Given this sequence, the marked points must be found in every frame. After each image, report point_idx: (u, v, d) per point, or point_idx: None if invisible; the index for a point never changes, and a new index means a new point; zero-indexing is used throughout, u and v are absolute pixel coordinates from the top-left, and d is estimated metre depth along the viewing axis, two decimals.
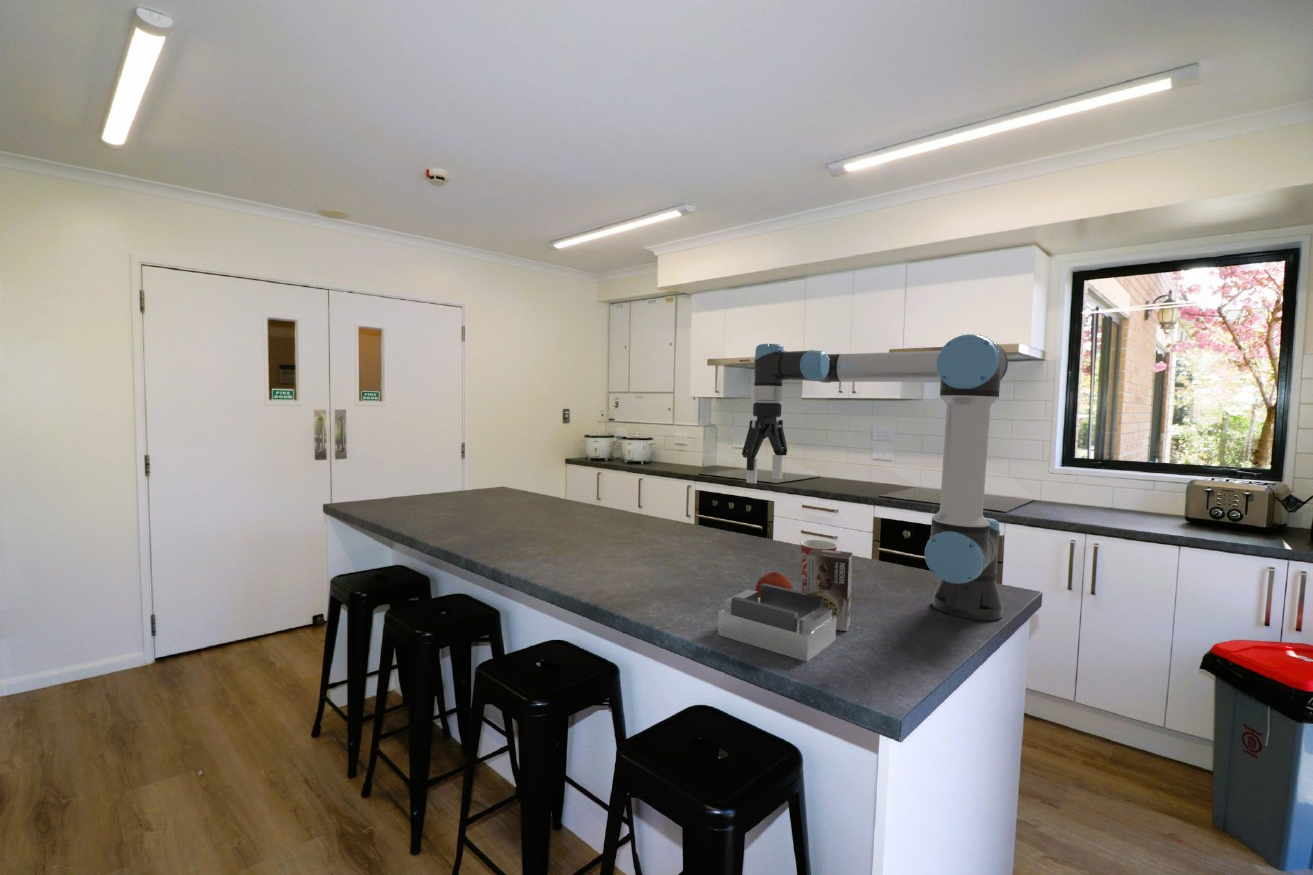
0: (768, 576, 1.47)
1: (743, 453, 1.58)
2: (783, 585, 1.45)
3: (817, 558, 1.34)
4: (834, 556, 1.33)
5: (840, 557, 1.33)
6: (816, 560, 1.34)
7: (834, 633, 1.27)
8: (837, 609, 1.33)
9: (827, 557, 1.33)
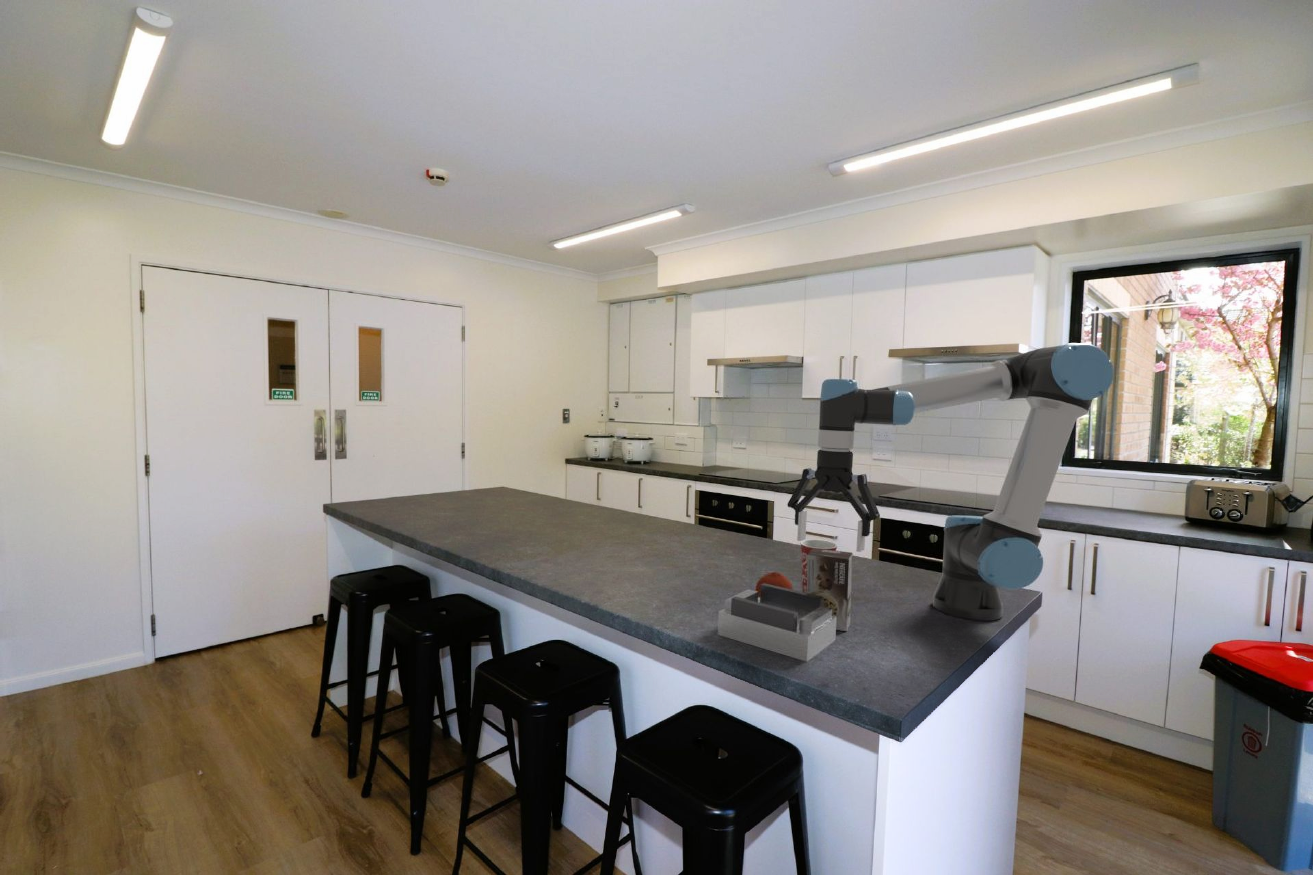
0: (768, 576, 1.47)
1: None
2: (783, 584, 1.45)
3: (817, 558, 1.34)
4: (834, 556, 1.33)
5: (840, 557, 1.33)
6: (816, 560, 1.34)
7: (834, 633, 1.27)
8: (837, 609, 1.33)
9: (827, 557, 1.33)
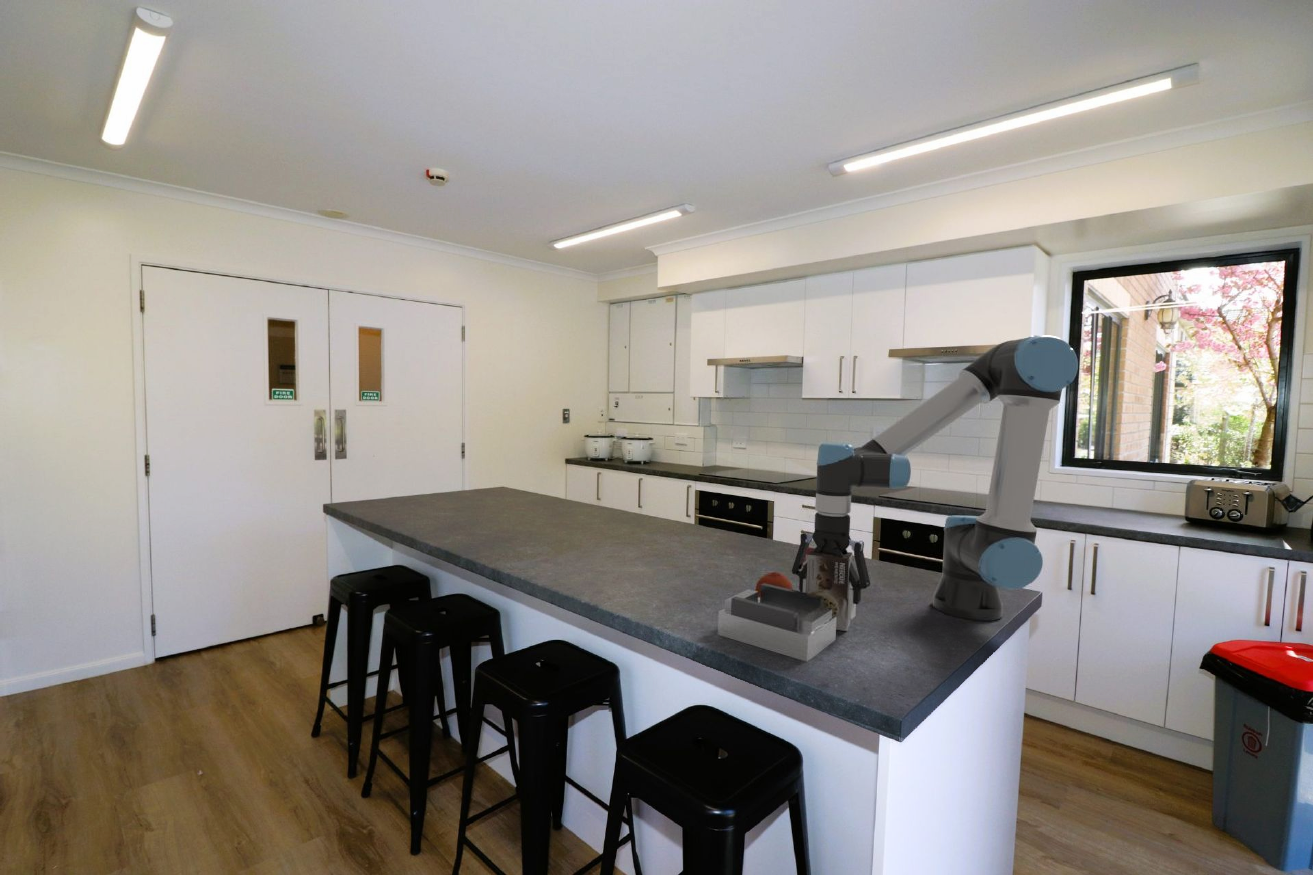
0: (768, 576, 1.47)
1: None
2: (783, 585, 1.45)
3: (817, 558, 1.34)
4: (834, 556, 1.33)
5: (840, 557, 1.33)
6: (816, 559, 1.34)
7: (834, 633, 1.27)
8: (837, 609, 1.33)
9: (827, 557, 1.33)
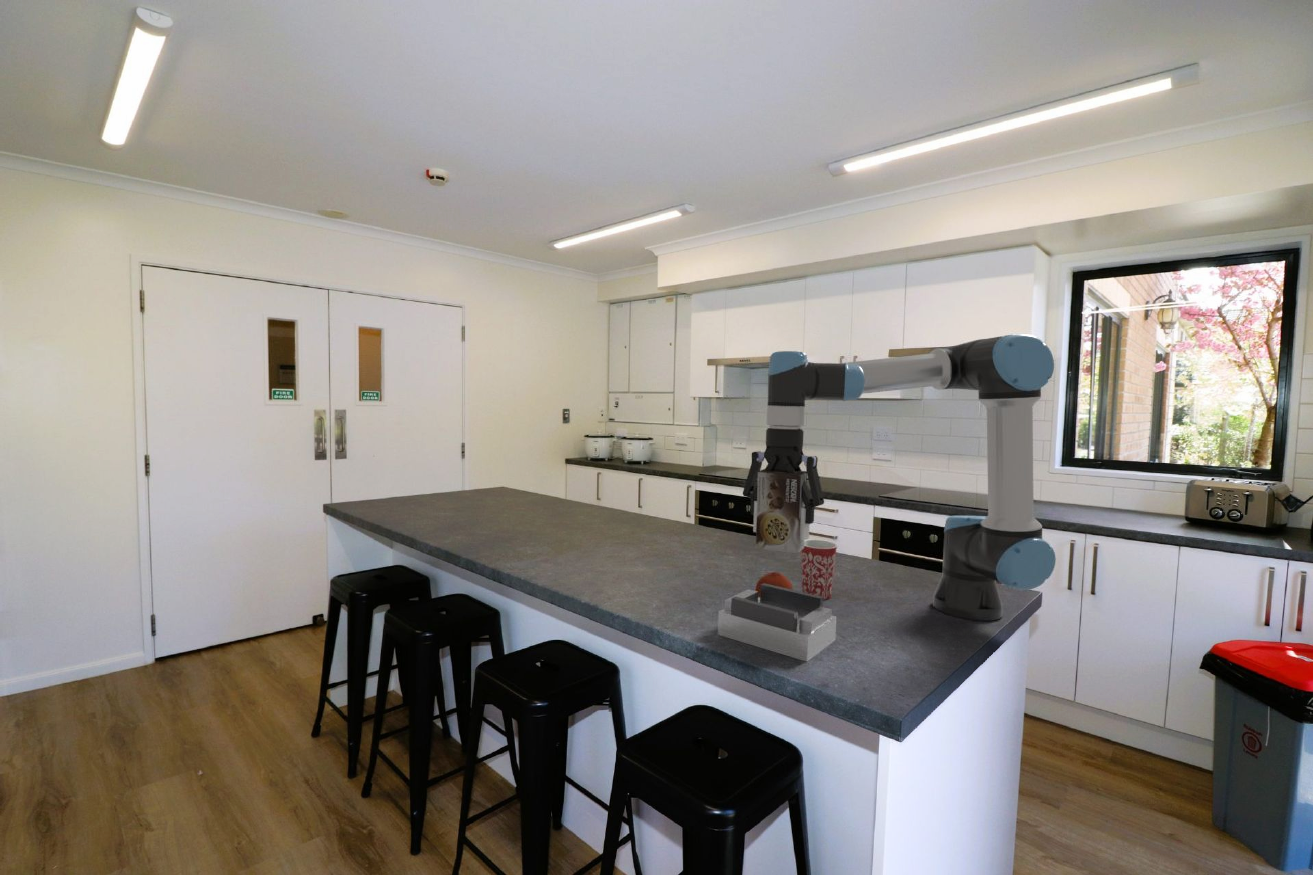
0: (768, 576, 1.47)
1: None
2: (783, 585, 1.45)
3: (768, 475, 1.24)
4: (786, 473, 1.23)
5: None
6: (767, 477, 1.24)
7: (834, 633, 1.27)
8: (788, 530, 1.23)
9: (778, 474, 1.23)
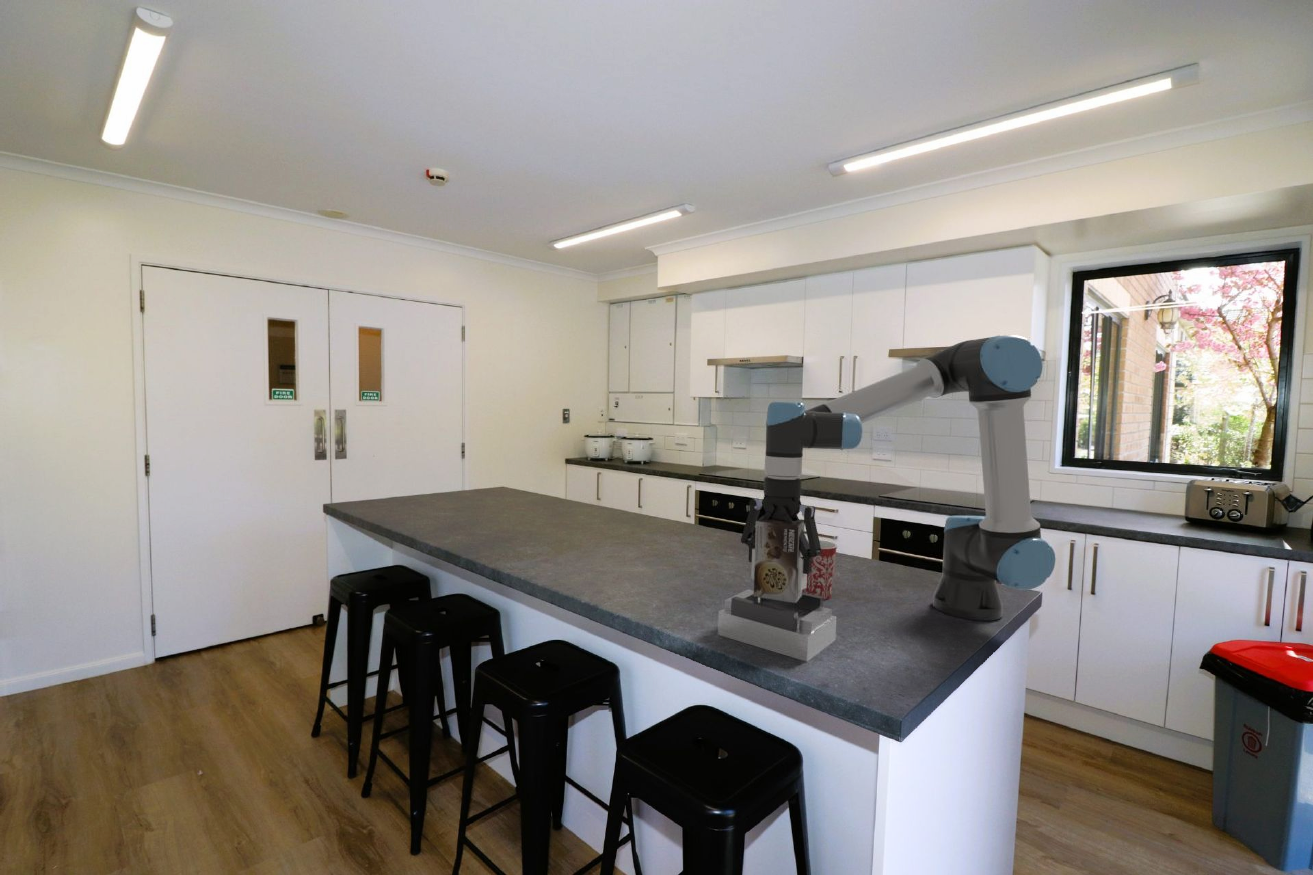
0: None
1: None
2: None
3: (766, 525, 1.25)
4: (783, 522, 1.24)
5: None
6: (765, 526, 1.25)
7: (834, 633, 1.27)
8: (786, 579, 1.23)
9: (776, 523, 1.24)
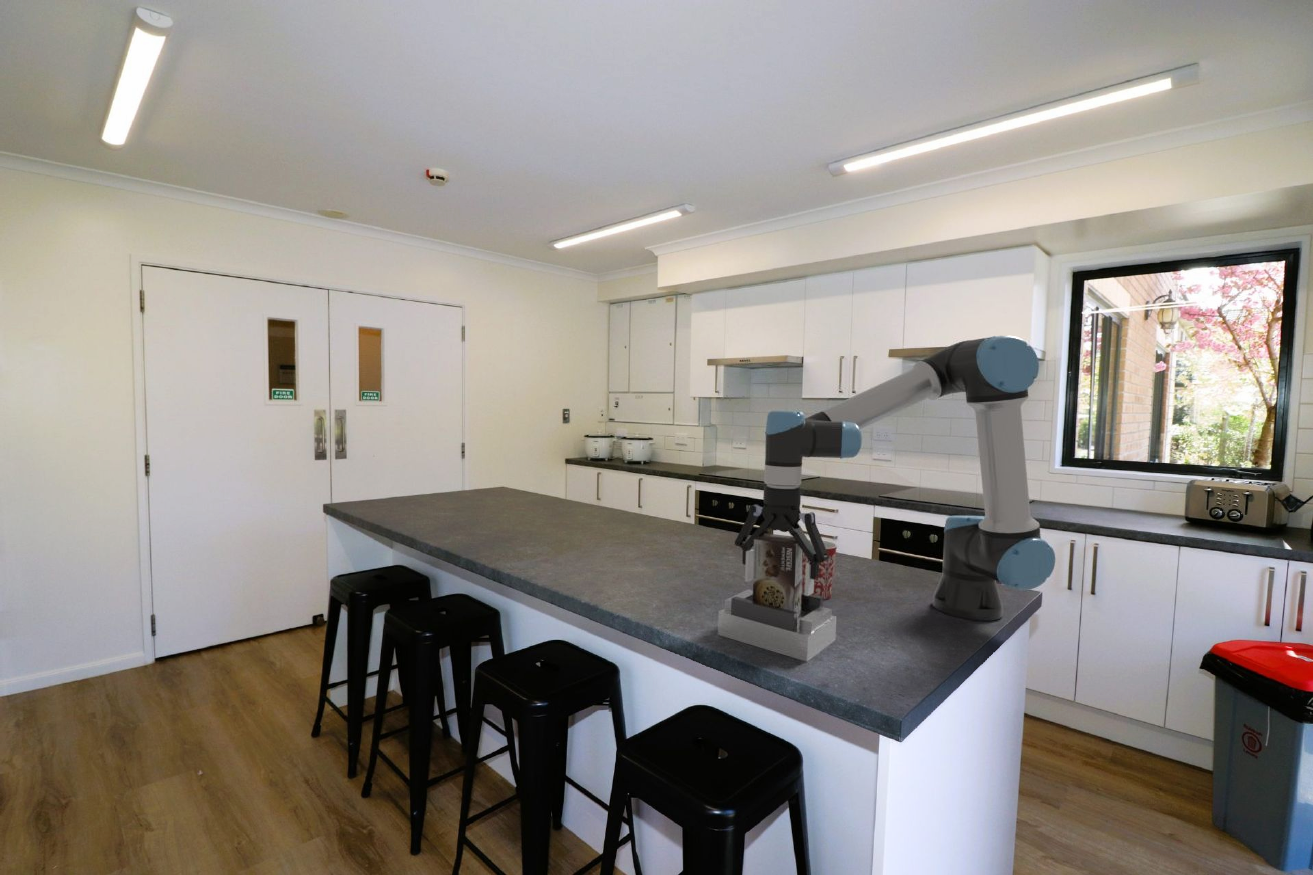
0: None
1: None
2: None
3: (764, 543, 1.25)
4: (781, 541, 1.24)
5: (787, 541, 1.24)
6: (763, 544, 1.25)
7: (834, 633, 1.27)
8: (784, 598, 1.24)
9: (774, 542, 1.24)
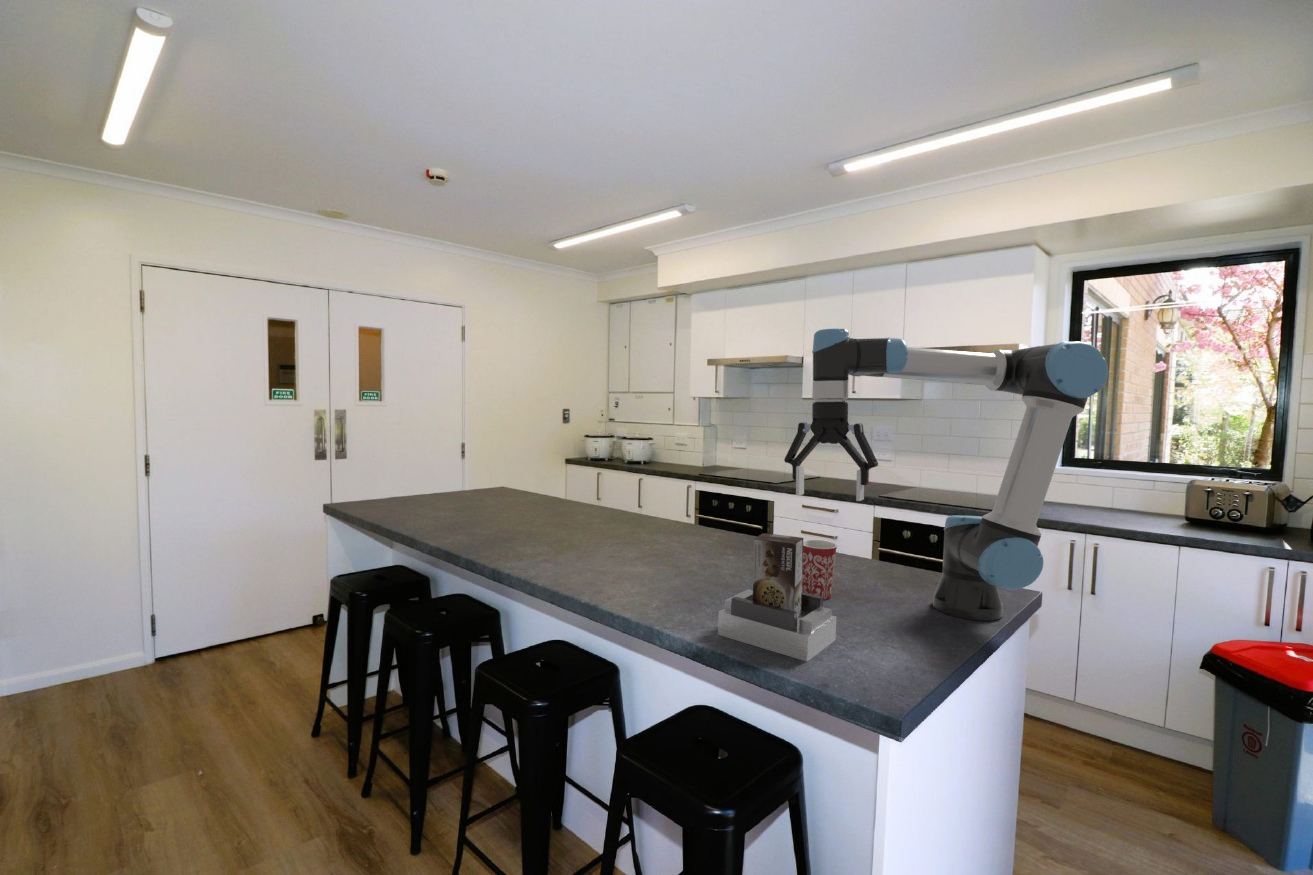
0: None
1: None
2: None
3: (764, 543, 1.25)
4: (781, 541, 1.24)
5: (787, 541, 1.24)
6: (763, 544, 1.25)
7: (834, 633, 1.27)
8: (784, 598, 1.24)
9: (774, 542, 1.24)
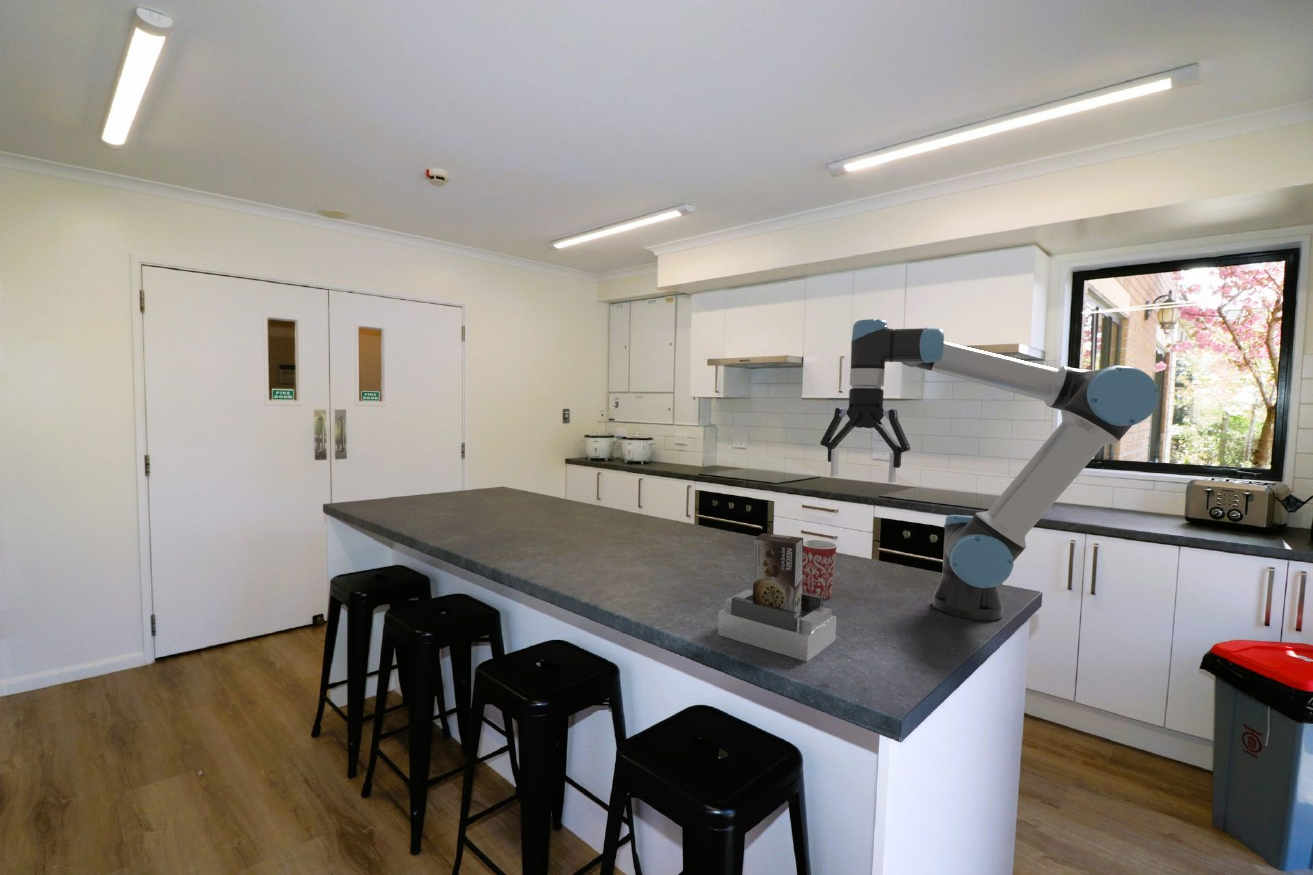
0: None
1: None
2: None
3: (764, 543, 1.25)
4: (781, 541, 1.24)
5: (787, 541, 1.24)
6: (763, 544, 1.25)
7: (834, 633, 1.27)
8: (784, 598, 1.24)
9: (774, 542, 1.24)
